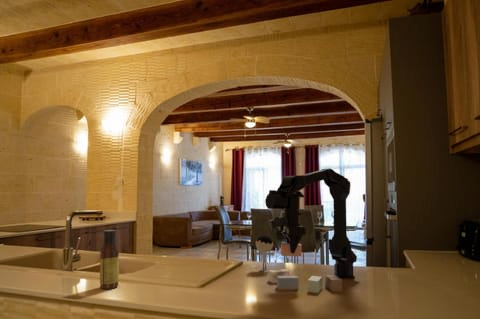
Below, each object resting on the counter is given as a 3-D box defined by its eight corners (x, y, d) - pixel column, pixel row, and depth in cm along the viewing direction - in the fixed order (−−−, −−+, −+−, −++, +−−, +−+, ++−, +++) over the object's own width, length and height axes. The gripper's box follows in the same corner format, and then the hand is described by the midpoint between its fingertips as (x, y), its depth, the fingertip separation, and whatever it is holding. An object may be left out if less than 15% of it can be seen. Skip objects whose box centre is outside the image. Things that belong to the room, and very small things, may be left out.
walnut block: (325, 286, 125) (325, 275, 126) (334, 286, 126) (334, 275, 126) (332, 292, 119) (332, 279, 119) (342, 291, 119) (341, 279, 119)
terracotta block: (299, 254, 129) (300, 243, 129) (301, 256, 125) (301, 245, 126) (281, 254, 129) (281, 243, 129) (282, 255, 125) (282, 244, 126)
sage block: (312, 287, 124) (312, 275, 125) (322, 288, 123) (321, 276, 123) (307, 292, 118) (307, 280, 118) (318, 293, 117) (317, 281, 117)
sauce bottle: (122, 286, 124) (124, 229, 126) (110, 290, 118) (112, 231, 120) (107, 284, 126) (109, 229, 128) (94, 288, 121) (97, 230, 123)
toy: (274, 267, 156) (274, 234, 157) (274, 271, 149) (274, 235, 151) (255, 267, 157) (255, 233, 158) (254, 270, 150) (254, 235, 152)
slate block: (296, 287, 125) (295, 275, 125) (298, 289, 121) (298, 277, 122) (276, 287, 124) (276, 275, 124) (278, 290, 121) (278, 278, 121)
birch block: (284, 279, 135) (284, 269, 136) (289, 281, 132) (289, 271, 132) (268, 281, 133) (268, 270, 133) (272, 283, 130) (272, 272, 130)
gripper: (266, 208, 137) (265, 248, 136) (275, 209, 119) (274, 256, 117) (294, 208, 138) (293, 248, 136) (306, 210, 120) (306, 256, 118)
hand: (291, 252), depth 127 cm, fingers closed on terracotta block, 4 cm apart
